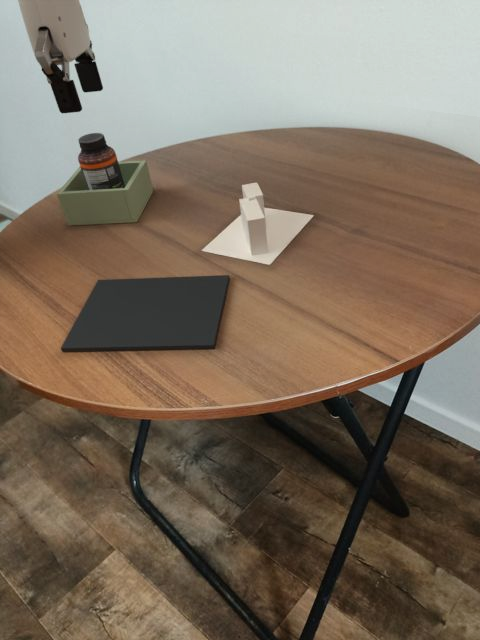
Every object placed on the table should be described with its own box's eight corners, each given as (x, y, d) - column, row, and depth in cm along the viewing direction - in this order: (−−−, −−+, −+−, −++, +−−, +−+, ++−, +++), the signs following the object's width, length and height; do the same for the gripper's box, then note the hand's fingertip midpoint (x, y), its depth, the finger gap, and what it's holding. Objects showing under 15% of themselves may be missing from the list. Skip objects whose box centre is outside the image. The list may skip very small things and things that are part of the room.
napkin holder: (271, 265, 70) (267, 226, 66) (200, 251, 75) (193, 214, 71) (314, 214, 80) (313, 178, 76) (249, 205, 84) (245, 170, 80)
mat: (62, 352, 60) (60, 348, 60) (99, 283, 71) (97, 279, 70) (214, 348, 58) (213, 344, 58) (229, 278, 69) (229, 274, 68)
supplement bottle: (103, 196, 91) (82, 130, 83) (134, 196, 90) (116, 129, 82) (88, 212, 87) (64, 144, 79) (121, 213, 85) (100, 143, 78)
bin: (68, 225, 85) (56, 193, 81) (91, 194, 93) (81, 164, 90) (137, 222, 83) (128, 189, 80) (153, 190, 92) (146, 160, 88)
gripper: (37, -46, 73) (78, 86, 84) (-22, -30, 60) (36, 123, 71) (87, -52, 72) (123, 82, 83) (39, -38, 59) (88, 118, 70)
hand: (83, 101), depth 77 cm, fingers open, 9 cm apart
